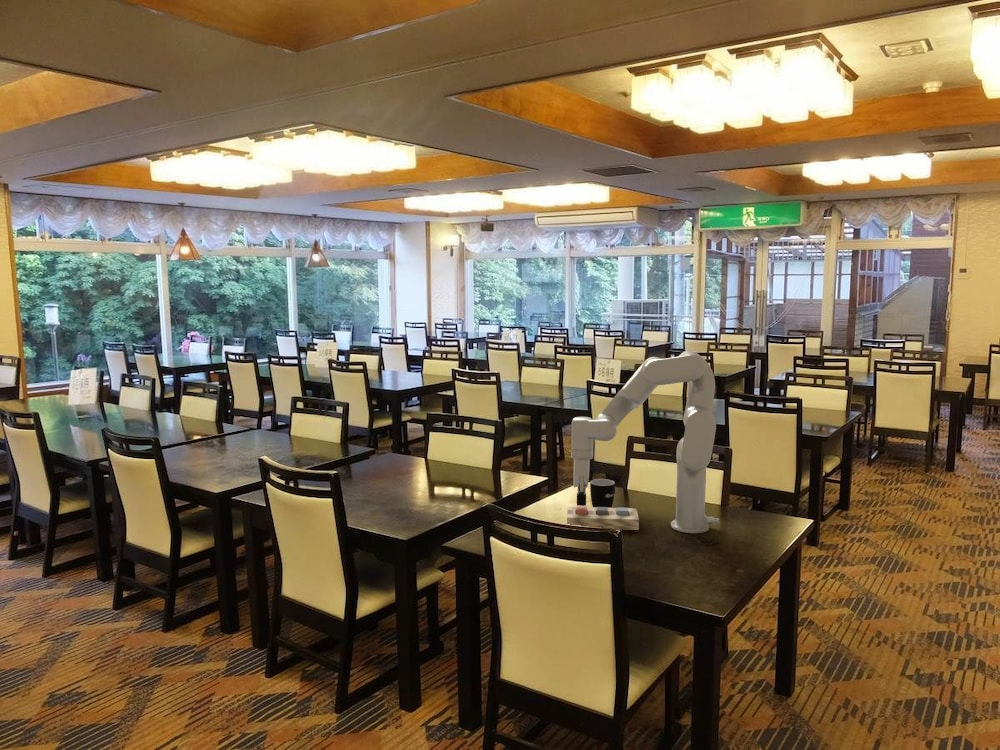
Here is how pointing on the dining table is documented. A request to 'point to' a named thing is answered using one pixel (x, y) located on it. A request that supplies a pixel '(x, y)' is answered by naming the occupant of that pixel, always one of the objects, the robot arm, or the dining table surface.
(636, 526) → the panel
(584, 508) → the button red
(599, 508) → the button grey
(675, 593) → the dining table surface
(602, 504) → the mug
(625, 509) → the button blue
